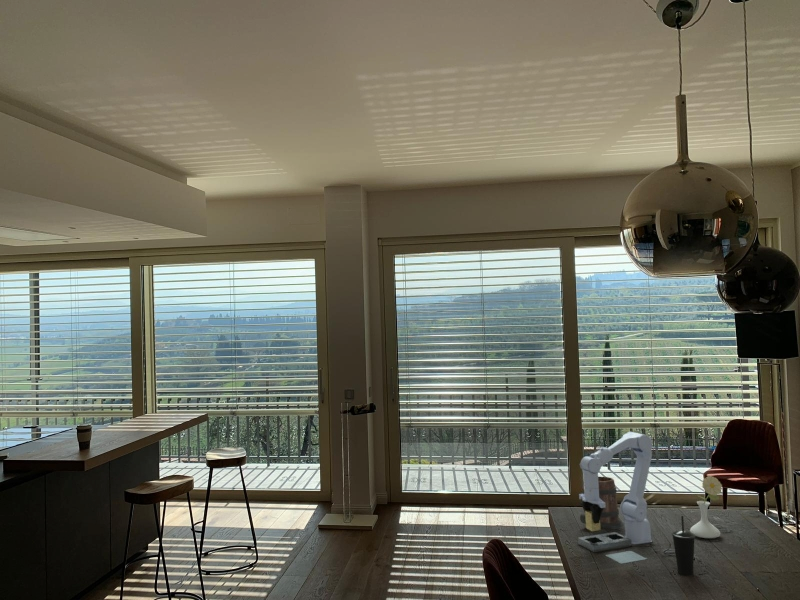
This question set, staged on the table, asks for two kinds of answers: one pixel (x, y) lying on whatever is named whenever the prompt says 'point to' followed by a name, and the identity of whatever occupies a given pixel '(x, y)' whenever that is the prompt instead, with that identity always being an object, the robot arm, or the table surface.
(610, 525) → the tankard
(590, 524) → the beige rectangular block
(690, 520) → the table surface
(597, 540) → the grey socket tray
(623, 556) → the pale flat rectangular plate
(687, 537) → the drinking cup
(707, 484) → the flower in vase
